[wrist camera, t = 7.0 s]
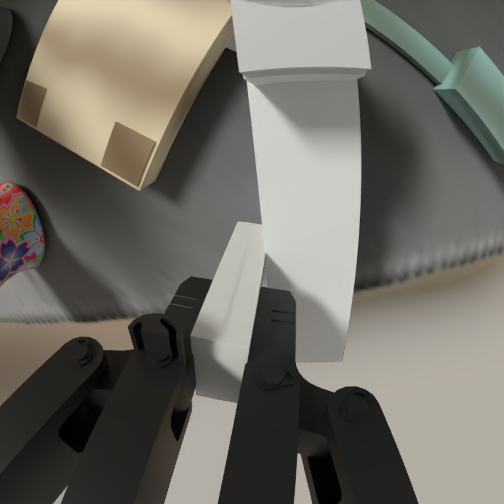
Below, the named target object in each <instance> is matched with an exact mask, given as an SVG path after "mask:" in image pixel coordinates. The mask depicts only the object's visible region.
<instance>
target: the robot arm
mask: <svg viewBox="0 0 504 504" xmlns="http://www.w3.org/2000/svg"><path fill="white" fill-rule="evenodd" d="M265 253H266V252H265V248H264V238H263V227H262V225H260V224H253V223H246V222H239V221H238V223H237V225H236V227H235V230H234V232H233V234H232V237H231V239H230V241H229V244H228V246H227V248H226V251H225V253H224V255H223V258H222V260H221V262H220V265H219V267H218V270H217V272H216V274H215V277H214V279H213V280H209V279H203V278H197V277H192V276H191V277H190V278H188V279H187V280H186V281H184V282H183V283H181V284H180V286H179V288H178V290H177V292H176V293H175V296H174V297H173V299H172V301H171V302H170V305H169V306H168V308H167V310H166V312H165V313H164V314H156V313H152V314H147V315H142V316H141V317H139V318H137V319H135V320H133V321H132V323H131V324H130V325H129V326H128V329H129V333H130V336H131V340H132V343H133V346H134V349H133V350H125V351H115V350H114V351H113V350H103V348H102V346H101V345H100V343H99V342H98V341H97V340H95V339H93V338H90V337H78V338H74V339H72V340H70V341H69V342H67V343H66V344H64V345H63V346H62V347H61V348H60V349H59V350H58V351H57V352H56V353H55V354H53V355H52V356H51V357H50V358H49V359H48V360H47V361H46V362H45V363H44V364H43V365H42V366H41V367H40V368H39V369H37V371H35V372H34V373H33V375H31V376H30V377H29V378H28V379H27V380H26V381H25V382H24V383H23V384H22V385H21V386H20V387H19V388H18V389H17V390H16V391H15V392H14V393H13V394H12V395H11V396H10V397H9V398H8V399H7V400H6V401H5V402H4V403H3V404H2V405H1V406H0V504H53V503H54V502H55V500H56V499H57V498H58V497H59V495H60V494H61V493H62V492H63V490H64V489H65V488H66V486H68V487H67V490H66V492H65V495H64V497H63V500H62V502H61V504H164V502H165V498H166V495H167V491H168V488H169V484H170V481H171V478H172V475H173V471H174V468H175V465H176V461H177V458H178V455H179V451H180V448H181V445H182V441H183V438H184V434H185V432H186V428H187V425H188V422H189V418H190V415H191V412H192V401H191V400H192V397H193V394H194V390H195V389H196V395H199V396H204V397H209V398H214V399H218V400H223V401H229V402H234V403H237V409H236V415H235V419H234V425H233V430H232V435H231V440H230V445H229V450H228V456H227V460H226V465H225V471H224V475H223V480H222V485H221V490H220V495H219V500H218V504H294V495H295V482H296V467H297V453H299V454H301V457H302V461H303V466H304V470H305V474H306V478H307V483H308V487H309V491H310V495H311V500H312V504H418V501H417V498H416V495H415V492H414V490H413V487H412V484H411V481H410V479H409V476H408V474H407V471H406V468H405V466H404V463H403V460H402V458H401V455H400V453H399V450H398V448H397V445H396V443H395V440H394V438H393V435H392V433H391V430H390V428H389V426H388V424H387V421H386V419H385V416H384V414H383V412H382V409H381V407H380V405H379V403H378V401H377V400H376V398H375V397H374V396H373V395H372V394H371V393H370V392H368V391H367V390H365V389H362V388H359V387H356V386H353V387H344V388H341V389H339V390H337V391H336V392H335V393H334V392H331V391H328V390H325V389H322V388H320V387H317V386H315V385H313V384H311V383H309V382H308V381H307V380H305V379H304V378H303V377H302V376H301V374H300V373H299V371H298V369H297V367H296V361H295V357H296V301H295V299H294V297H293V295H292V294H291V292H290V291H287V290H280V289H273V288H266V287H261V285H262V279H263V272H264V265H265ZM68 484H69V485H68Z"/></svg>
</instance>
